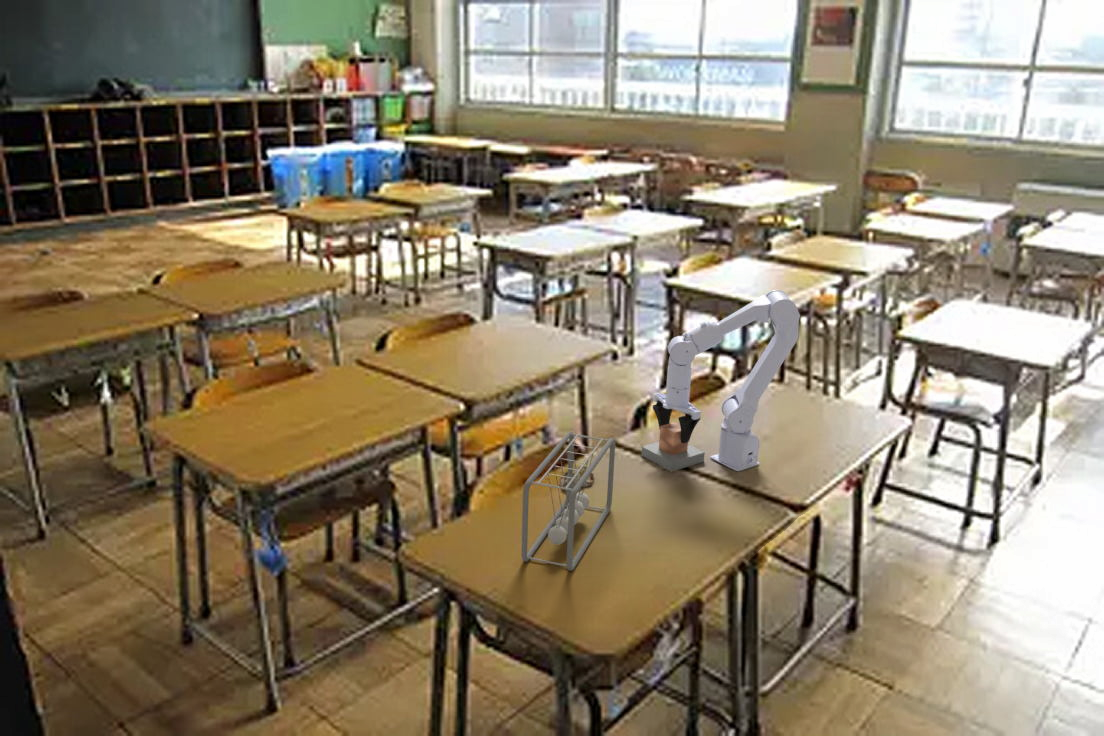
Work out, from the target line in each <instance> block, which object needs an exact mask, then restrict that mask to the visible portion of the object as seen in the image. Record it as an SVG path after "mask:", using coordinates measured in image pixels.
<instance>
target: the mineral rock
mask: <svg viewBox="0 0 1104 736" xmlns="http://www.w3.org/2000/svg"><path fill="white" fill-rule="evenodd" d="M581 466H582V465H581ZM581 466H576V470H573V477H574V475H575V474H576V471H578V470H579V469H580V467H581ZM588 467H589V466H588V465H587V467H586V465H584V467H583V468H582V472H581V471H580V472H579V473H578V475H577V478H578V481H579V477H580V478H581V477H582V475H583V474H584V472H585V468H586V470H587V469H588ZM573 469H575V467H573ZM580 473H581V476H580ZM563 474H564V476H565V477H564V479H563V477H562V476H563ZM560 477H561V478H560V479H559V481H560V482H559V483H558V485H559V487H566V486H567V479H568V471H566V472H562V475H561V476H560ZM575 478H576V477H575ZM577 478H576V481H575V479H574V480H573V481H572V488H573V486H574V487H575V485H576V484H577ZM564 480H565V485H564ZM594 481H595V475H594V472H593V471H592V473H591V474H590V476H589V477H588V478H587V480H586V484H585V483H584V484H583V485H582V488H584V487H583V486H584V485H585V487H588V486H589V487H590V486H592V485H593V482H594ZM574 482H575V485H574ZM566 492H567V490H566Z"/></svg>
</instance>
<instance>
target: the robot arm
mask: <svg viewBox="0 0 1104 736" xmlns="http://www.w3.org/2000/svg"><path fill="white" fill-rule="evenodd" d="M800 317H801V314H800V312H799V310H798V307H797V304H796V303H795V302H794V301H793V300H791V299H790V297H789V296H788V295H787V293H786V292H785V291H783V290H780V289H774V290H773V289H772V290H770V291H769V292H767V293H766V294H763V295H760V296H758V297H757V298H755V299H754V300H752V302H749V303H747V304H746V305H745V306H742V307H741V308H739V309H738V310H736V311H735V312H733V313H731V314H730V315H728V316H726V317H725V318H723V319H721V320H719V321H718V322H715V321H711V320H709V321H708V322H706V321H704V320H703V321H702V322H700V324H699V325H700V326H699V327H696V328H695V329H693V330H690V331H689V332H687V331H685V332H683V333H682V335H681V336H680V335H677V336H675V337H673V338H671V340H670V342H668V345H667V346H666V347H667V352H668V354H669V358H668V366H667V374H666V385H665V386H666V387H665V388H666V389H665V393H661V392H659V393H654V394H653V397H654V398H653V402H654V403H656V404H653V405H652V409H653V411H654V413H655V416H656V419H657V422H658V427H659V430H660V426H662V425H666V424H669V423H671V422H670V420H671V416H672V412H673V410H674V411H678V412H679V413H681V414H683V416H678V422H679V424H680V427H681V443H687V442H688V443H689V442H690V439H691V436H692V435H693V433H694V430H695V428H696V426H697V425H698V423H699V422H700V420H701V418H702V417H701V415H702V414H701V412H702V411H701V410H699V409H697V407H695V405H693V404H692V403H691V402H690V394H691V382H692V380H691V379H692V362H693V361H694V360H695V357H696V356H697V355H700V354H702V353H705V351H707V350H709V349H711V348H714V347H715V346H716V345H718V344H721V343H722V342H723V339H724V337H725V335H728V334H729V333H731V332H733V331H736V330H738V329H740V328H741V327H744V326H746V325H749V324H750V323H753V322H761V323H765V324H766V323H767V324H769V323H770V320H771V324H772V328H773V331H774V335H773V336H772V337H771V339H770V341H769V342H768V344H767V345H766V347H765V349H764V350H763V352H762V354H761V355H760V357H759V358H758V361H757V362H756V363H755V365H754V366H753V367H752V369H751V371H750V373H749V374H748V375H747V378H746V379H745V380H744V382H743V383H742V385H741V386H740V387H738V388H737V389H735V390H734V391H733V393H732V395H731V396H729V397H727V398H726V399H725V400H724V401H723V402H722V405H721V413H722V415H723V417H724V419H723V421H722V422H721V424H720V434H719V435H720V436H719V445H718V453H717V454H713V455H710V459H711V460H714V461H715V462H718V463H719V464H722V465H723V466H726V467H728V468H729V469H732V470H733V471H736V472H742V471H744V470H747V469H749V468H753V467H756V466H758V465H760V462H759V460H758V459H759V450H760V439H759V437H758V436H757V435H756V434H754V432H753V431H752V429H751V428H752V427H753V424H754V417H755V415H756V413H757V412H758V406H759V402H760V399H761V398H762V396H763V394H764V392H765V391H766V389H767V388H768V386H769V385H770V383H771V382H772V380H774V377H775V376H776V374H777V372H778V371H779V370H780V368H781V366H782V364H783V363H784V361H785V360H786V358H787V357H788V355H789V354H790V352H791V351H792V349H793V348H794V346H795V344H796V343H797V341H798V339H799V332H800V331H799V329H800V328H799V325H800V323H799V322H800ZM769 319H770V320H769Z"/></svg>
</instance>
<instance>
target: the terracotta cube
mask: <svg viewBox="0 0 1104 736" xmlns="http://www.w3.org/2000/svg"><path fill="white" fill-rule="evenodd" d="M658 442H659V449H661V450H663V451H665V452H667V453H669V454H671V455H675V454H678V453H682V452H685V451H687V449H688V444H689V442H687V443H681V427H680V422H679V423H678V422H677V421H673V422H669V424H666V425H662V426H660V429H659V439H658Z"/></svg>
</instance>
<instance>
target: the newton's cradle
mask: <svg viewBox="0 0 1104 736" xmlns="http://www.w3.org/2000/svg"><path fill="white" fill-rule="evenodd" d="M579 437H580V438H585V439H592V440H598V443H597V445H596V446H595V447H593V450H592V451H591V452H590V453H589V454H588V455H587V454H586V453H582V455H583V456H588V457H587V458H586V459H585V460H584V461H581V463H582V464H581V467H580V466H579V467H580V469H579V470H578V471H576V474H575V475H574V477H573V470H576V468H577V466H576V462H577V463H580V461H577V460H575V459H576V458H575V452H574V450H575V446H576V447H577V446H579V447H580V445H579V444H575V441H576V439H577V438H579ZM603 441H604V442H606V443H605V444H604V445H603V447H602V448H601V449H600V451H599V452H598V453H597V454H596V456H595V458H594V459H593V456H594V453H595V451H596V450H597V449H598V448H599V446H600V445H601V443H603ZM567 442H568V445H567V446H566V447H565V449H564V450H563V451H562V452H561V453H560V455H559V456H558V457H557V458H556V459H555V461H554V462H553V463H552V465H551V466H550V467H548V469H547V471H546V472H545V473H544V474H543V476H542V477H541V478H540V479H539V480H538V482H537V481H535V480H536V479H537V478H538V477H539V476H540V474H541V473H542V472H543V470H544V469H545V468H546V467H547V466H548V464H550V462H551V461H552V460H553V459H554V457H556V455H557V454H558V452H559V451H560V450H561V449H562V448H563V446H564V445H565V444H566V443H567ZM581 447H582V448H586V446H585V445H581ZM587 448H588V449H592V447H591V446H587ZM567 450H568V451H567ZM608 450H609V457H608V472H607V473H608V475H607V496H606V503H605V508H603V507H597V506H592V505H591V506H590V498H589V496H588V495H587V494H586V493H585V487H586V486H585V485H584V487H582V485H583V484H584V483H585V484H586V480H587V478H588V477H589V476H590V474H591V473H592V472H593V471H594V470H595V468H596V467H597V465H598V464H599V463H600V461H601V460H602V459H603V457H604V455H606V453H607V451H608ZM615 452H616V440H615V438H613V437H610V438H609V439H608V438H607V439H606V438H601V437H595V436H589V435H582V434H577V433H574V432H573V431H571V430H569V431H568V432H566V434H565V435H564V436H563V437H562V438H561V440H559V442H558V443H557V444H556V445H555V446H554V448H553V449H552V450H551V451H550V453H549V454H547V456H546V457H545V458H544V459H543V461H542V462H541V463H540V464H539V465H538V466H537V468H536V469H535V470H534V471H533V473H532V474H531V475H530V476H529V477H528V478H527V480H526V481H525V483H524V485H523V489H522V508H521V509H522V512H521V513H522V515H521V516H522V517H521V559H522V561H523V562H529V561H530V560H533V561H535V562H541V563H546V564H552V565H556V566H560V567H566V568H567V569H566V570H567V571H569V572H572V571H574V570H575V568H576V566H577V564H578V563H579V561H580V560H581V559H582V557H583V556H584V553H585V552H586V550H587V548H588V547H589V545H590V544H591V542H592V540H593V539H594V537H595V536H596V534H597V532H598V531H599V529H600V527H601V525H602V524H603V522H604V521H605V520H606V517H607V516H608V514H609V512H610V511H611V507H612V504H613V493H614V492H613V491H614V490H613V488H614V474H615V473H614V472H615V455H616V453H615ZM565 453H566V458H563V460H565V461H567V467H566V469H567V472H568V479H567V486H566V487H561V486H560V485H559V483H558V477H560V474H557V469H556V467H557V468H560V467H561V471H562V475H563V476H562V475H561V477H563V479H564V477H565V476H564V474H563V473H564V470H563V469H565V467H564V466H563V463H562V457H563V456H564V455H565ZM576 454H579V455H581V453H579V452H576ZM559 460H560V465H561V466H558V465H557V463H558V462H559ZM589 460H590V462H589ZM592 460H593V461H592ZM588 462H589V466H588ZM584 466H586V467H587V466H588V469H587V470H586V468H585V472H584V474H583V475H582V477H581V478H580V477H579V481H578V478H577V475H578V473H579V472H580V471H581V472H582V468H583V467H584ZM553 468H554V471H555V474H553V473H550V471H552V469H553ZM574 468H575V469H574ZM547 475H548V482H549V484H547V483H543V482H542V481H543V480H544V479H545V478H546V476H547ZM550 475H551V476H555V478H556V485H553V484H551V479H550ZM580 476H581V473H580ZM575 477H576V478H577V484H576V485H575V482H574V485H575V487H574V486H573V488H572V481H573V480H574V479H575V481H576V478H575ZM531 485H537V486H543V487H548V488H549V490H550V495H551V501H552V502H551V504H552V509H553V517H552V518H551V519H550V520H549V522H548V523H547V525H546V527H545V528H544V529H543V530H542V532H541V533H540V534H539V536H538V538H537V539H536V540H535V541H534V543H533V544H532V546H531V547H530V549H529V550H528V541H529V540H528V539H529V538H528V537H529V536H528V533H529V532H528V531H529V499H530V498H529V497H530V495H529V494H530V488H531ZM564 485H565V480H564ZM581 487H582V488H583V489H582V488H581ZM552 488H554V489H557V490H558V498H559V504H560V507H559V508H558V509H557V511H556V512H555V507H554V499H553V494H552ZM581 489H582V491H581ZM560 490H565V500H564V501H563V503H562V501H561V494H560ZM566 490H567V491H566ZM587 508H588V509H594V510H599V511H602V513H601V514H600V515H599V518H598V519H597V521H596V522H595V524H594V525H593V527H592V529H591V530H590V532H589V533H588V535H587V536H586V538H585V540H584V542H583V543H582V544H581V546H580V548H579V550H578V551H577V552H576V555H575V556H573V554H574V534H575V525H576V524H578V523H579V522H578V521H579V520H580V519H579V518H580V517H581V516H583V514H584V513H585V510H586V509H587ZM547 536H548V540H549V541H550V543H552V544H553V545H558V546H559V545H561V544H563V543H564V542H566V540H567V544H566V545H567V546H566V548H567V549H566V564H565V563H560V562H555V561H550V560H544V559H541V558H537V557H533V556H534V553H536V551H537V550H538V548H539V547H540V546H541V544H542V542H543V541H544V540H545V539H546V537H547ZM573 557H574V558H573Z"/></svg>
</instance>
